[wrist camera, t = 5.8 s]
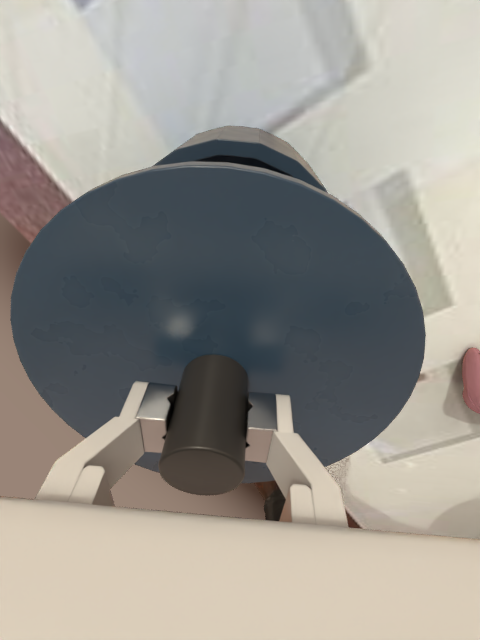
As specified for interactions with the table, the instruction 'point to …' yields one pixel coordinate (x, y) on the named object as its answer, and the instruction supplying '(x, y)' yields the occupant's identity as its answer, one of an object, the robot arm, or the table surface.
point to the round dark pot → (245, 152)
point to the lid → (218, 314)
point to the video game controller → (471, 379)
